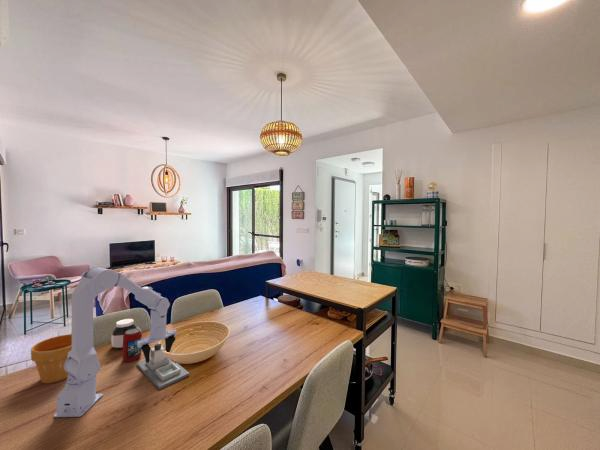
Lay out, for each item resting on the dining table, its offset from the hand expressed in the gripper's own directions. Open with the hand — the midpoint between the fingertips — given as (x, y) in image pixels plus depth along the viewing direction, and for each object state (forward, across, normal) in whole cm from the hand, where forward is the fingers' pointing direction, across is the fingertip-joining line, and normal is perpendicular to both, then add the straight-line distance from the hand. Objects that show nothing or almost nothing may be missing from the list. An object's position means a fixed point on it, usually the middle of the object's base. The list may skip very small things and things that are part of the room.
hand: (157, 357), depth 103 cm
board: (+3, 0, +5) cm, 6 cm away
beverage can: (+3, +5, -14) cm, 15 cm away
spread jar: (+3, +2, -30) cm, 30 cm away
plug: (+2, 0, 0) cm, 2 cm away
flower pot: (+3, +28, -20) cm, 34 cm away
